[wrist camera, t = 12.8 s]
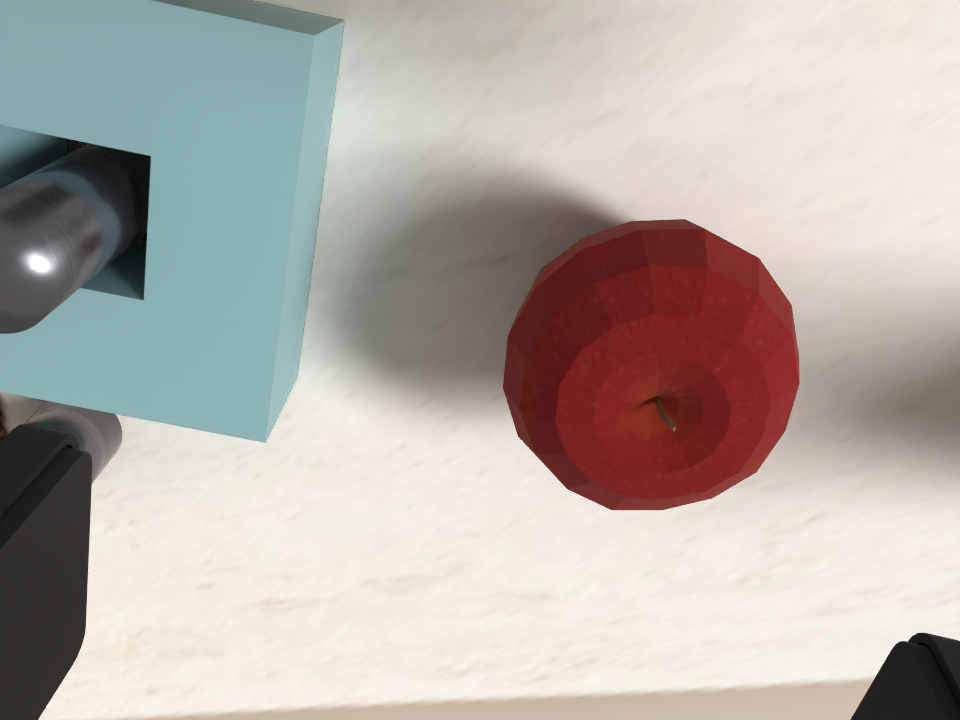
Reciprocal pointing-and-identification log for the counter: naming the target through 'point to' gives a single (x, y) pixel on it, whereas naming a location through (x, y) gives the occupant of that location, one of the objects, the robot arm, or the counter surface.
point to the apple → (652, 365)
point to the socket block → (177, 200)
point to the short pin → (83, 430)
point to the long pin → (67, 228)
